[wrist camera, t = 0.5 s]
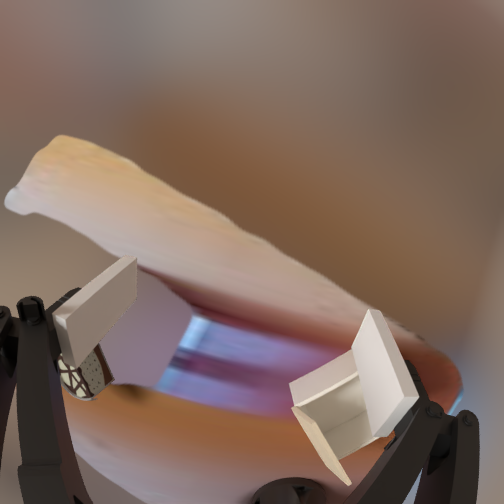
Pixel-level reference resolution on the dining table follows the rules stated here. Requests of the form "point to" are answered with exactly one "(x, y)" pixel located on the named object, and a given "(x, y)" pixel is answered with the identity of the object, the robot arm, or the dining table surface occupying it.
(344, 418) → the carton
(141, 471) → the dining table surface
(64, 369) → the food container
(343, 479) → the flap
